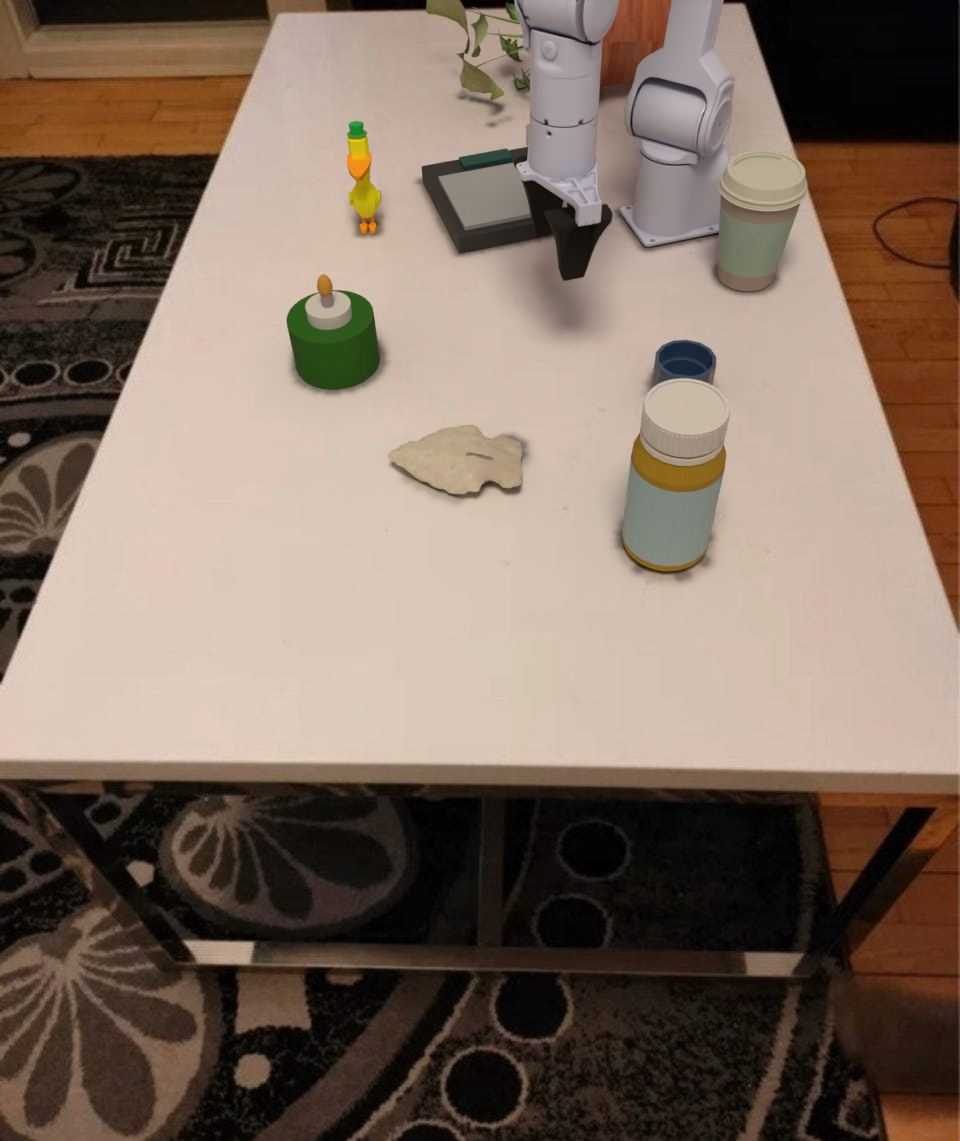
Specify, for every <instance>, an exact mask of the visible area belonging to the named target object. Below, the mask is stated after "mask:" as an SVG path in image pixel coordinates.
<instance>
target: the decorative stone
mask: <svg viewBox="0 0 960 1141" xmlns="http://www.w3.org/2000/svg"><path fill="white" fill-rule="evenodd" d="M522 456H523V448H522V444H521V441H518V440H516V439H513V438H511V437H508V436H506V435H503V434H499V435H497V436H495V437H488V436H485V435H484V433H483V431H481V430H480V428H479V427H478V426H476V425H474V424H463V425H459V426H448V427H447V426H446V427H443V428H441V429H438V430H437V431H434V432H433V433H430V434H426V435H425V436H422V438H420V439H419V440H416V441H414V440H413V441H410V440H409V441H407V442H406V443H403V444H401V445H399V447H397V448H395V449H393V450H391V451H389V452H388V453H387V458H388V459H389V460H391V461H393V462H394V464H396V465H397V466H398V467H402V468H403V469H405V471H406V472H407V473H409V474H410V475H411V476H412V477H413V478H414V479H416V480H418V481H420V482H422V483H423V482H425V483H428V484H429V485H430V486H431V487H433V488H435V489H439V490H444V491H446V492H447V493H448V494H451V495H452V494H453V495H466V494H467V493H479V492H480V490H481V487H482V485H483V484H485V483H486V482H494V483H496V484H498V485H499V486H500V487H501V488H504V489H512V488H517V487H520V486H522V480H523V477H522V476H523V475H522V469H523V468H522V467H523V466H522Z"/></svg>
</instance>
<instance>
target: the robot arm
mask: <svg viewBox="0 0 960 1141" xmlns="http://www.w3.org/2000/svg"><path fill="white" fill-rule="evenodd" d="M724 1H725V0H672V1H671V7H670V12H669V18H668V23H667V29H666V35H665V40H664V46H663V47H662V48H660V49H659V50H657V51H655V52H653V53H652V54H650V55H648V56H647V57H645V58H644V59H643V60H642V61H641V62H640V63H639V65H638V67H637V69H636V74H635V78H634V82H633V83H632V86H631V88H630V90H629V92H628V94H627V95H628V96H627V98H626V102H625V106H624V113H623V121H624V126H625V129H626V132H627V134H628V136H630V137H633V148H634V149H636V150H638V157H637V158H638V159H637V170H636V178H635V179H636V180H635V189H634V190H635V191H634V202H633V203H632V204H628V205H623V206H621V207H619V213H620V215H621V216H622V218H623V219H624V220H625V222H626V223H627V224H628V226H629V227H630V228H631V230H632V231H633V232H634V234H635V235H636V237H637V238H638V240H639V241H640V242H641V243H642V245H643V246H644V247H646V248H650V247H655V246H660V245H664V244H665V245H666V244H670V243H675V242H680V241H684V240H690V239H694V238H700V237H704V236H709V235H713V234H719V222H720V200H721V193H720V191H719V188H718V183H719V180H720V177H721V174H722V172H723V171H724V170H725V169H726V167H727V164H728V162H729V161H730V160H729V159H730V158H729V154H728V150H727V149H726V148H727V147H726V146H725V144H724V143H723V142H724V141H725V139H726V136H727V134H728V131H729V128H730V125H731V121H732V116H733V95H734V88H735V79H736V77H735V76H734V74H733V72H732V71H731V70H730V69H729V67H728V66H727V64H726V63H725V62H724V61H723V60H722V59H721V58H720V56H719V55H718V54H717V52H716V50H715V46H716V45H715V44H716V39H717V36H718V35H717V34H718V30H719V24H720V21H721V15H722V10H723V6H724ZM514 5H515V12H516V16H517V19H518V21H519V23H520V24H519V25H520V27H521V29H522V34H523V38H522V45H523V47H525V50H524V51H526V53H527V54H529V69H530V70H529V73H530V76H529V80H530V91H529V124H525V146H526V147H528V155H527V156H521V157H518V158H516V159H515V160H514V162H513V164H514V166H515V168H516V173H517V175H518V176H519V178H520V179H521V181H522V183H523V186H524V189H525V192H526V196H527V200H528V204H529V209H530V214H531V219H532V223H533V227H534V231H535V233H536V235H537V236H541V235H546V234H552V233H553V235H552V236H553V238H554V243H555V249H556V256H557V257H556V258H557V266H558V271H559V274H560V278H561V279H562V281H564V282H567V281H572V280H576V279H577V280H578V279H582V278H585V275H586V274H587V273H586V272H587V270H588V267H589V265H590V262H591V258H592V256H593V254H594V250H595V248H596V245H597V243H598V242H599V240H600V238H601V236H602V234H603V233H604V232H605V230H606V229H607V228H608V227H609V225H610V224H611V223H612V221H613V214H614V213H613V211H612V209H611V207H610V206H609V205H608V203H603V201H602V200H601V197H600V195H599V177H598V176H599V175H598V174H599V172H598V171H599V170H598V169H599V167H598V164H599V163H598V162H599V161H598V158H597V157H596V155H597V154H596V153H597V138H598V137H597V136H598V122H599V104H600V94H599V90H600V73H601V57H602V40H603V37H604V36H605V34H606V33H607V31H608V30H609V29H610V28H611V26H612V24H613V21H614V19H615V16H616V12H617V9H618V5H619V0H514ZM563 200H564V201H566V202H567V208H566V207H563ZM562 207H563V208H562Z"/></svg>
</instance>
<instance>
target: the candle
mask: <svg viewBox="0 0 960 1141" xmlns="http://www.w3.org/2000/svg"><path fill="white" fill-rule="evenodd" d="M316 283H317V284H316V288H317V292H314V293H312V294H309V295H306V296H304V297H303V298H301V299H299V300H298V301H297V302H296V303H293V305H292V306H291V308H290V309H289V311H288V312H287V313H286V314H287V315H286V321H285V322H286V327H287V332H288V336H289V341H290V345H291V350H292V354H293V360H294V363H295V368H296V372H297V374H298V376H299V377H300V378H301V379H302V381H303V382H305V383H306V384H308V385H310V386H312V387H314V388H318V389H323V390H343V389H349V388H352V387H355V386H358V385H360V384H362V383H364V382H365V381H367V380H369V379H370V378H371V377H373V375H375V373H376V372H377V371H378V368H379V366H380V362H381V357H380V349H379V342H378V334H377V328H376V320H375V312H374V308H373V306H372V304H371V302H370V301H369V300H368V299H367V298H366V297H364V296H363V295H361V294H358V293H356V292H353V291H349V290H343V289H342V290H341V289H334V288H333V286H334V285H333V283H332V280H331V279H330V277H329V276H328V275H327V274H324V273H323V274H320V275H319V277H318V279H317V282H316Z"/></svg>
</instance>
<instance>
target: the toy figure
mask: <svg viewBox="0 0 960 1141" xmlns="http://www.w3.org/2000/svg"><path fill="white" fill-rule="evenodd" d="M364 124H365V123H364V122H363V121H360V120H355V121H350V122H349V123H348V128H349V131H348V132H347V133H346V136H347V137H346V140H347V147H348V154H347V156H346V166H347V167H346V168H347V170H348V173H349V176H350V177H351V178H352V179H353V180H354V181H355V182H356V183H355V185H354V186H353V188H352V190H350V191H349V192H348V202H349V206H350V207H351V206H352V207H353V208H354V210H355V212H356V213H357V214H359V216H360V217H361V223H360V224H359V232H360V234H361V235H366V234H367V233H368V232H369V233H370V235H375V234H376V233H377V231H378V228H377V224H376V222H375V217H374V215H375V214H376V212H377V210H378V209H379V206H380V205H381V203H382V193H381V190H380V189H379V190H378V188H376V186H375V185H374V184H373V183H372V182H371V167H372V166H371V165H372V157H373V156H372V155H373V154H372V153H371V152H370V146H369V138H368V132H367V130H365V129H364ZM366 219H370V222H369V223H368V222H367V221H366Z"/></svg>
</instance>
